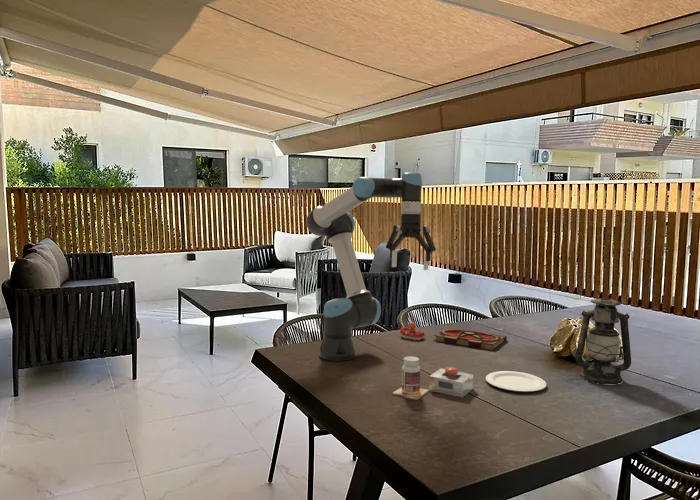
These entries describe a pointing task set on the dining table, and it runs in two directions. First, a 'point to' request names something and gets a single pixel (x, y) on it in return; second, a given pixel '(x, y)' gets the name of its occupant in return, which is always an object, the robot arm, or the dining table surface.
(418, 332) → the toy boat
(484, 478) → the dining table surface
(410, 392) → the pill bottle
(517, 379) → the plate
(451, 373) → the lever
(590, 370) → the lantern
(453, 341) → the book
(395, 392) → the cork pad
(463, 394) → the grey boxy piece
